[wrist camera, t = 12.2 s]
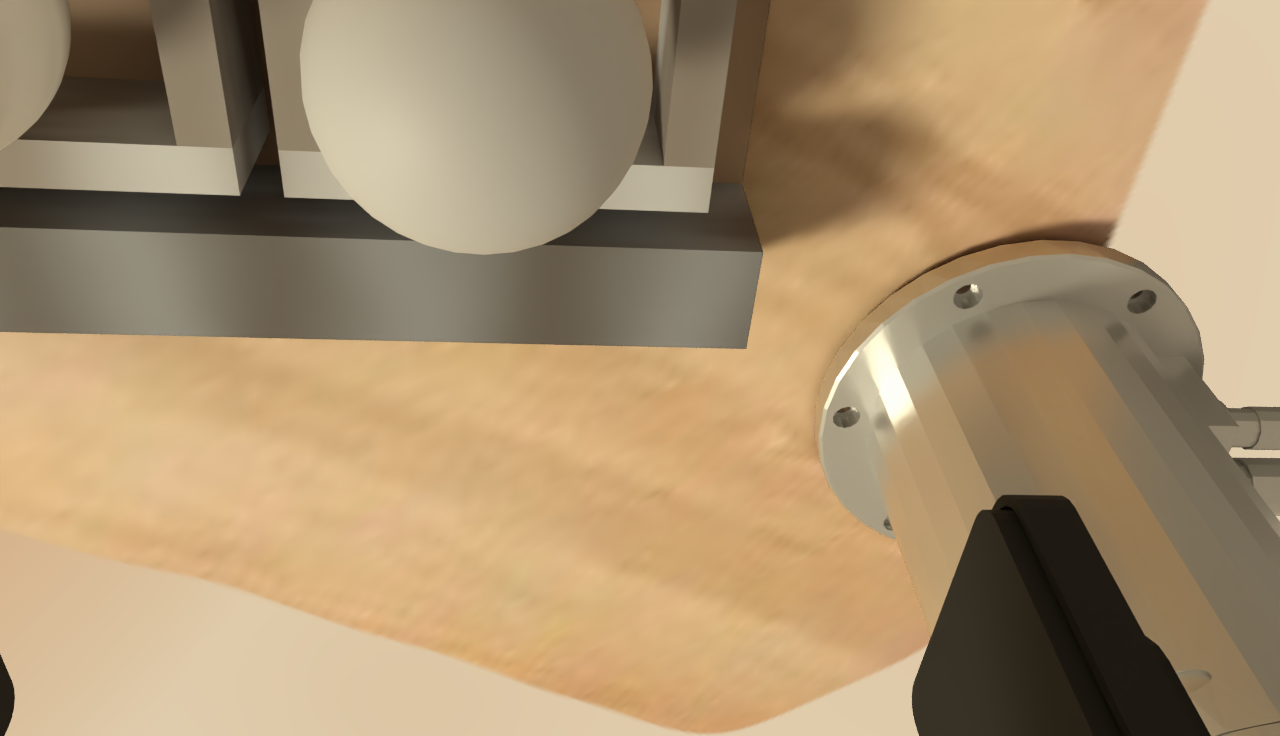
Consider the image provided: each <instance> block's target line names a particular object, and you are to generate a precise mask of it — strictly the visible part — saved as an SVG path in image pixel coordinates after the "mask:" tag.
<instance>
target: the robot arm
mask: <svg viewBox="0 0 1280 736" xmlns="http://www.w3.org/2000/svg"><path fill="white" fill-rule="evenodd" d="M1203 365H1204V355H1203V349H1202V344H1201V338H1200V332H1199V330H1198V328H1197V326H1196V324H1195V322H1194V320H1193V318H1192V316H1191V314H1190V312H1189V310H1188V308H1187V306H1186V305H1185V304H1184V302H1183V301H1182V300H1181V299H1180V298H1179V297H1178V295H1177V294H1176V293H1175V292H1174V290H1173V289H1172V288H1171V287H1170V286H1169V284H1168V283H1167V282H1166V281H1165V280H1164V279H1162V278H1161V277H1160V276H1159V275H1158V274H1156V273H1155V272H1154V271H1153V270H1151V269H1150V268H1149V267H1148V266H1147V265H1145V264H1144V263H1142V262H1141V261H1138V260H1136V259H1134V258H1132V257H1130V256H1128V255H1125V254H1123V253H1121V252H1119V251H1117V250H1115V249H1111V248H1107V247H1102V246H1098V245H1094V244H1089V243H1085V242H1080V241H1057V240H1037V241H1029V242H1022V243H1014V244H1006V245H1000V246H997V247H993V248H990V249H986V250H983V251H980V252H976V253H973V254H969V255H966V256H962V257H960V258H958V259H956V260H953V261H951V262H949V263H947V264H945V265H942V266H940V267H938V268H936V269H934V270H932V271H929V272H927V273H925V274H923V275H922V276H920V277H918V278H917V279H915V280H914V281H912V282H911V283H909V284H908V285H906V286H905V287H903V288H902V289H900V290H898V291H897V292H895V293H894V294H892V295H891V296H889V297H888V298H887V299H886V300H885V301H884V302H883V303H882V304H880V305H879V306H878V307H877V308H876V309H875V310H874V311H873V312H871V313H870V314H869V315H868V316H867V317H866V318H865V319H864V320H862V321H861V323H860V324H859V325H858V326H857V328H856V329H855V330H854V331H853V333H852V334H851V335H850V336H849V338H848V339H847V340H846V341H845V342H844V344H843V345H842V346H841V347H840V349H839V350H838V352H837V354H836V356H835V358H834V360H833V361H832V363H831V365H830V367H829V369H828V371H827V373H826V374H825V376H824V378H823V382H822V385H821V389H820V392H819V395H818V399H817V402H816V405H815V421H814V437H815V442H816V446H817V451H818V456H819V460H820V463H821V465H822V468H823V471H824V474H825V477H826V480H827V482H828V485H829V487H830V489H831V490H832V491H833V493H834V494H835V496H836V497H837V499H838V500H839V502H840V503H841V504H842V506H843V507H844V508H845V509H846V510H847V511H849V512H850V513H851V514H852V515H853V516H854V517H855V518H857V519H858V520H859V521H860V522H861V523H862V524H864V525H866V526H867V527H869V528H871V529H872V530H874V531H876V532H878V533H879V534H881V535H884V536H886V537H889V538H892V539H895V540H897V543H898V546H899V549H900V552H901V554H902V557H903V560H904V563H905V566H906V568H907V571H908V574H909V577H910V580H911V583H912V585H913V588H914V591H915V594H916V597H917V600H918V602H919V605H920V608H921V611H922V614H923V616H924V619H925V622H926V625H927V628H928V631H929V633H930V636H931V638H930V641H929V644H928V646H927V649H926V652H925V654H924V657H923V660H922V662H921V665H920V668H919V670H918V673H917V676H916V678H915V681H914V685H913V691H912V708H913V716H914V720H915V723H916V727H917V730H918V733H919V736H1280V521H1279V520H1278V519H1277V517H1276V516H1280V458H1232V457H1231V456H1230V455H1229V451H1230V449H1231V447H1242V448H1243V449H1252V450H1253V449H1254V450H1280V407H1243V408H1241V409H1237V408H1227V407H1226V406H1225V405H1224V404H1223V403H1222V402H1221V401H1219V400H1218V399H1217V398H1216V396H1215V395H1214V394H1213V393H1212V391H1211V390H1210V389H1209V387H1208V386H1207V385H1206V384H1205V382H1204V381H1203V380H1202V376H1203ZM14 699H15V696H14V687H13V683H12V680H11V678H10V676H9V674H8V671H7V669H6V666H5V664H4V662H3V659H2V657H1V655H0V736H4V735H5V733H6V731H7V728H8V726H9V723H10V721H11V718H12V713H13V709H14Z"/></svg>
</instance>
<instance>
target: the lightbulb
mask: <svg viewBox="0 0 1280 736" xmlns="http://www.w3.org/2000/svg"><path fill="white" fill-rule="evenodd" d="M300 68H301V86H302V100H303V104H304V108H305V112H306V115H307V119H308V123H309V126H310V130H311V133H312V135H313V137H314V139H315V141H316V143H317V145H318V147H319V149H320V151H321V153H322V155H323V157H324V159H325V161H326V163H327V165H328V167H329V169H330V171H331V172H332V174H333V175H334V176H335V178H336V179H337V180H338V182H339V183H340V184H341V186H342V187H343V188H344V189H345V191H346V192H347V193H348V195H349V196H350V197H351V198H352V199H353V200H354V201H356V202H357V203H358V204H359V205H360V206H361V207H362V208H363V209H364V210H365V211H366V212H367V213H369V214H370V215H371V216H372V217H373V218H375V219H376V220H378V221H380V222H381V223H383V224H384V225H386V226H387V227H389V228H390V229H392V230H393V231H395V232H397V233H398V234H401V235H403V236H405V237H408V238H410V239H412V240H415V241H417V242H419V243H422V244H424V245H427V246H431V247H435V248H439V249H443V250H447V251H451V252H455V253H468V254H481V255H488V254H499V253H510V252H517V251H521V250H524V249H528V248H532V247H535V246H539V245H543V244H545V243H547V242H549V241H551V240H554V239H556V238H558V237H560V236H562V235H564V234H566V233H568V232H570V231H571V230H573V229H574V228H576V227H577V226H578V225H580V224H581V223H582V222H584V221H585V220H587V219H588V218H589V217H591V216H592V215H593V214H594V213H595V212H596V211H597V210H598V209H599V208H600V207H601V206H602V205H603V203H604V202H605V201H606V200H607V199H608V198H609V197H610V196H611V195H612V194H613V193H614V191H615V190H616V189H617V187H618V186H619V185H620V183H621V181H622V180H623V178H624V177H625V175H626V173H627V172H628V170H629V169H630V167H631V165H632V164H633V162H634V161H635V158H636V155H637V152H638V150H639V147H640V144H641V142H642V139H643V136H644V134H645V130H646V127H647V123H648V119H649V112H650V106H651V99H652V92H653V80H652V62H651V53H650V49H649V45H648V41H647V37H646V33H645V29H644V26H643V22H642V18H641V14H640V12H639V10H638V8H637V6H636V4H635V1H634V0H313V2H312V4H311V7H310V9H309V12H308V14H307V17H306V19H305V24H304V30H303V36H302V42H301V49H300Z"/></svg>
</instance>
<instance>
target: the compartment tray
mask: <svg viewBox="0 0 1280 736" xmlns="http://www.w3.org/2000/svg"><path fill="white" fill-rule="evenodd" d="M634 1H635V4H636V6H637V8H638V10H639V12H640V14H641V18H642V22H643V26H644V29H645V33H646V37H647V41H648V45H649V49H650V53H651V62H652V80H653V92H652V99H651V106H650V112H649V119H648V123H647V127H646V130H645V134H644V136H643V139H642V142H641V144H640V147H639V150H638V152H637V155H636V158H635V161H634V162H633V164H632V165H631V167H630V169H629V170H628V172H627V173H626V175H625V177H624V178H623V180H622V181H621V183H620V185H619V186H618V187H617V189H616V190H615V191H614V193H613V194H612V195H611V196H610V197H609V198H608V199H607V200H606V201H605V202H604V203H603V205H602V206H601V207H600V208H599V209H598V210H597V211H596V212H595V213H594V214H593V215H592V216H591V217H589V218H588V219H587V220H585V221H584V222H582V223H581V224H580V225H578V226H577V227H576V228H574V229H573V230H571V231H570V232H568V233H566V234H564V235H562V236H560V237H558V238H556V239H554V240H551V241H549V242H547V243H545V244H543V245H539V246H535V247H532V248H528V249H524V250H521V251H517V252H510V253H499V254H488V255H481V254H468V253H455V252H451V251H447V250H443V249H439V248H435V247H431V246H427V245H424V244H422V243H419V242H417V241H415V240H412V239H410V238H408V237H405V236H403V235H401V234H398V233H397V232H395V231H393V230H392V229H390V228H389V227H387V226H386V225H384V224H383V223H381V222H380V221H378V220H376V219H375V218H373V217H372V216H371V215H370V214H369V213H367V212H366V211H365V210H364V209H363V208H362V207H361V206H360V205H359V204H358V203H357V202H356V201H354V200H353V199H352V198H351V197H350V196H349V195H348V193H347V192H346V191H345V189H344V188H343V187H342V186H341V184H340V183H339V182H338V180H337V179H336V178H335V176H334V175H333V174H332V172H331V171H330V169H329V167H328V165H327V163H326V161H325V159H324V157H323V155H322V153H321V151H320V149H319V147H318V145H317V143H316V141H315V139H314V137H313V135H312V133H311V130H310V126H309V123H308V119H307V115H306V112H305V108H304V104H303V100H302V86H301V68H300V49H301V42H302V36H303V30H304V24H305V19H306V17H307V14H308V12H309V9H310V7H311V4H312V2H313V0H0V332H32V333H76V334H119V335H163V336H206V337H250V338H294V339H337V340H381V341H424V342H468V343H512V344H555V345H599V346H643V347H686V348H730V349H746V347H747V342H748V336H749V330H750V325H751V319H752V313H753V308H754V302H755V296H756V290H757V285H758V279H759V273H760V268H761V262H762V256H763V250H762V247H761V243H760V240H759V237H758V234H757V231H756V227H755V224H754V221H753V218H752V214H751V211H750V208H749V205H748V202H747V198H746V195H745V192H744V189H743V186H742V180H743V174H744V167H745V161H746V154H747V148H748V142H749V135H750V129H751V122H752V116H753V109H754V103H755V96H756V90H757V84H758V77H759V71H760V64H761V58H762V51H763V45H764V39H765V32H766V26H767V19H768V13H769V6H770V0H634Z"/></svg>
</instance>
